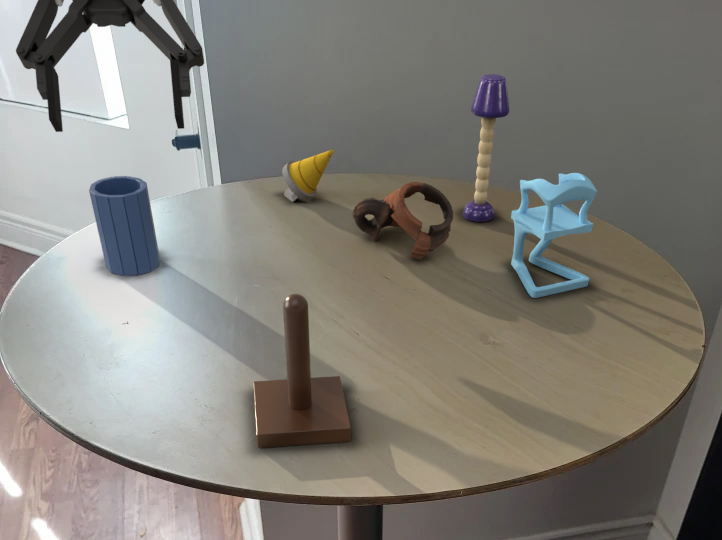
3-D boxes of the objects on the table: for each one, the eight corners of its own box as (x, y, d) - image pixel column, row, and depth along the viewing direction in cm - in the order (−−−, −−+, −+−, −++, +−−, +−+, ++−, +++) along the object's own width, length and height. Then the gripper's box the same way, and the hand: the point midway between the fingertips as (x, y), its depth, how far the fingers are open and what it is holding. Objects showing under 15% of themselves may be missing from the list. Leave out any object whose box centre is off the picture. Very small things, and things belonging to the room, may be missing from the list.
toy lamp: (453, 212, 104) (466, 74, 93) (480, 205, 106) (496, 69, 94) (475, 225, 101) (491, 84, 90) (503, 217, 103) (522, 79, 92)
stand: (258, 448, 66) (245, 323, 58) (254, 394, 72) (242, 274, 64) (351, 441, 67) (351, 318, 59) (340, 388, 73) (339, 269, 65)
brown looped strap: (421, 225, 102) (450, 179, 95) (435, 284, 98) (467, 241, 92) (336, 212, 96) (361, 162, 90) (349, 274, 93) (375, 228, 86)
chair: (547, 256, 95) (566, 154, 87) (589, 286, 89) (613, 180, 81) (494, 267, 92) (508, 163, 84) (533, 298, 87) (552, 191, 79)
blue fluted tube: (104, 277, 88) (86, 198, 82) (109, 253, 92) (92, 176, 86) (158, 274, 89) (144, 196, 83) (160, 251, 93) (148, 175, 87)
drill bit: (296, 189, 110) (345, 144, 104) (300, 218, 108) (351, 175, 102) (267, 170, 106) (316, 123, 100) (270, 201, 104) (321, 155, 98)
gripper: (216, -35, 94) (231, 137, 93) (-1, -35, 91) (14, 143, 90) (211, -84, 86) (227, 103, 86) (-25, -86, 83) (-10, 108, 83)
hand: (118, 124), depth 88 cm, fingers open, 13 cm apart
